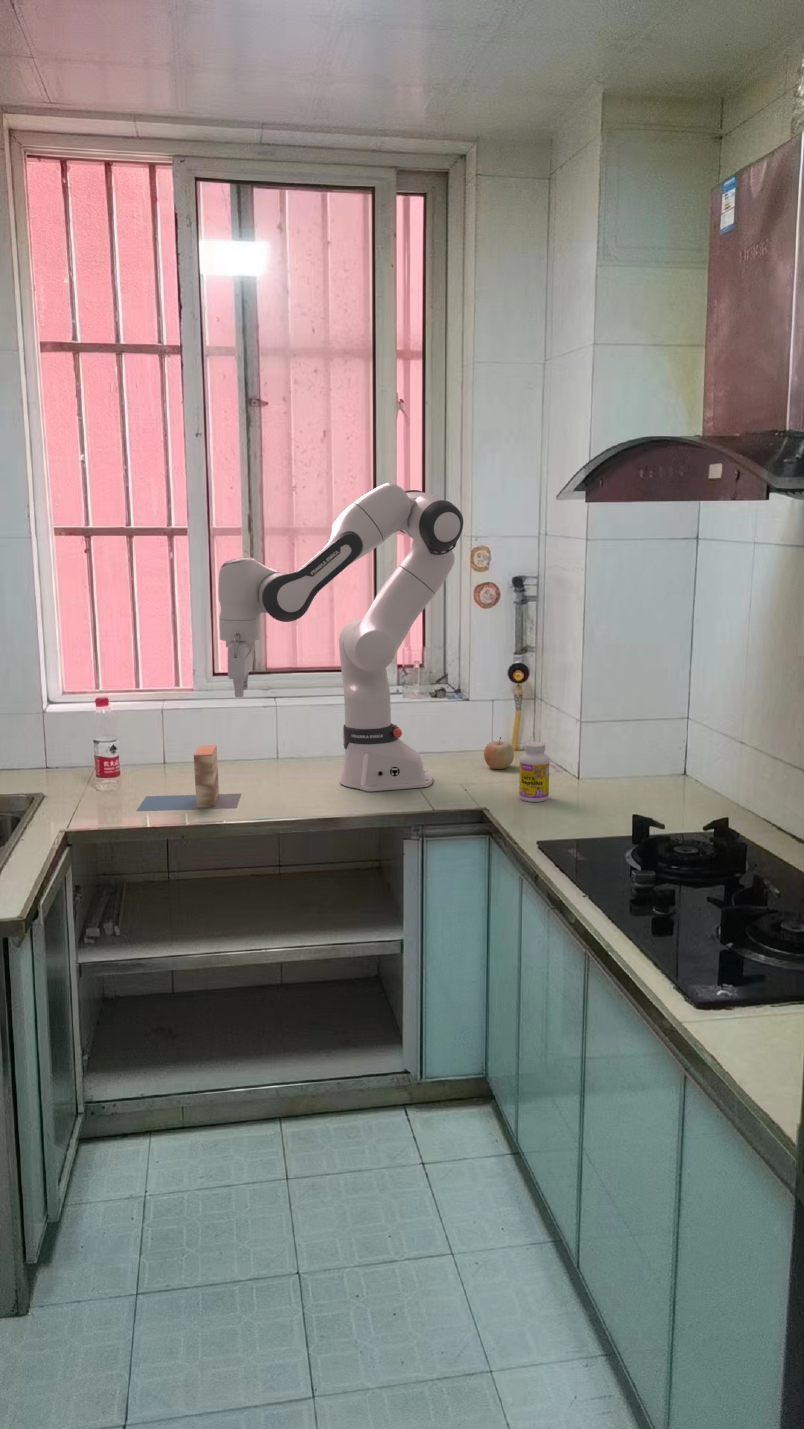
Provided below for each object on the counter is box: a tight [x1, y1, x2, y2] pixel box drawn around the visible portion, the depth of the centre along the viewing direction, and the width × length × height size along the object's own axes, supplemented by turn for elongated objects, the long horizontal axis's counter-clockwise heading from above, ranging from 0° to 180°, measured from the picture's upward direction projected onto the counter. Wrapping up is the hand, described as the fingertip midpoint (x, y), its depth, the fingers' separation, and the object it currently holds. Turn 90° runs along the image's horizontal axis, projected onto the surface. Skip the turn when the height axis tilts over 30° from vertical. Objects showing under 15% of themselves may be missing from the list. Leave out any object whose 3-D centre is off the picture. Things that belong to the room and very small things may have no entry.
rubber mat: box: [136, 793, 243, 812], centre depth 242 cm, size 22×12×1 cm, turn 93°
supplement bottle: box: [518, 741, 550, 803], centre depth 241 cm, size 7×7×13 cm
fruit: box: [483, 736, 515, 770], centre depth 270 cm, size 8×7×8 cm
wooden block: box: [193, 744, 220, 807], centre depth 241 cm, size 4×9×12 cm, turn 3°
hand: (241, 693), depth 239 cm, fingers open, 8 cm apart
